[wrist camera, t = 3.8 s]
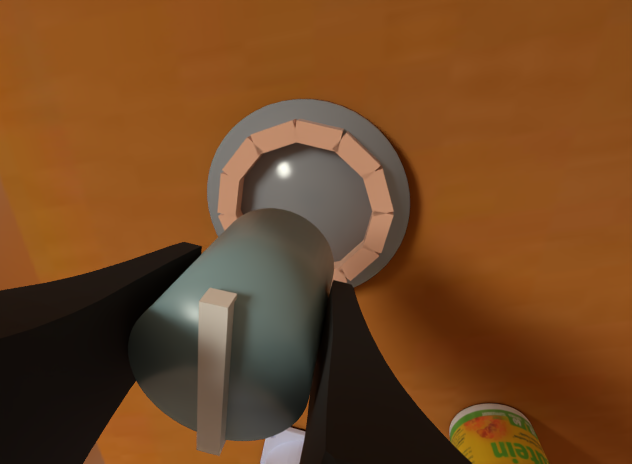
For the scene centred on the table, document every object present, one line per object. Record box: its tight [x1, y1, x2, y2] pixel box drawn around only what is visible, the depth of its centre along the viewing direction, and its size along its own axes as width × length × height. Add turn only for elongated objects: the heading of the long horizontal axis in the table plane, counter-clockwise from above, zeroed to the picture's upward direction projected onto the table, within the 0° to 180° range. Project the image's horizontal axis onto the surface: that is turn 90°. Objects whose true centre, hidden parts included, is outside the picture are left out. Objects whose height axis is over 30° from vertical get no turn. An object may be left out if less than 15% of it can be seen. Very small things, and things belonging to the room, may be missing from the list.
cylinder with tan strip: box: [128, 208, 334, 456], centre depth 10 cm, size 5×4×6 cm
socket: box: [207, 99, 410, 290], centre depth 19 cm, size 11×11×2 cm
